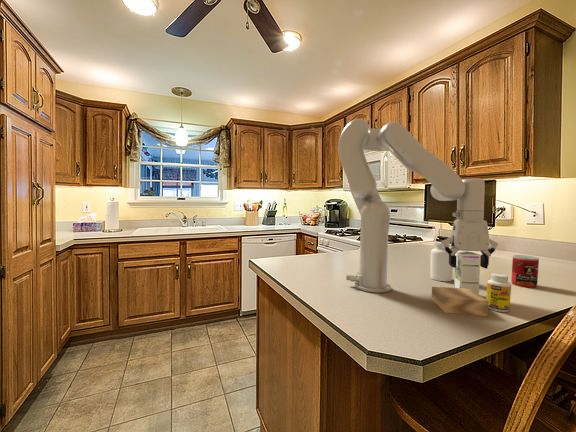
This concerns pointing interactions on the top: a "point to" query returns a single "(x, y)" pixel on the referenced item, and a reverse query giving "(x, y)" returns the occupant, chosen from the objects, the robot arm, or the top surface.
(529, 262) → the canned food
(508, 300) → the supplement bottle
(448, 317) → the top surface
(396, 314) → the top surface
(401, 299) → the top surface
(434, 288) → the oak block
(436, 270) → the pill bottle
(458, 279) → the syrup box
